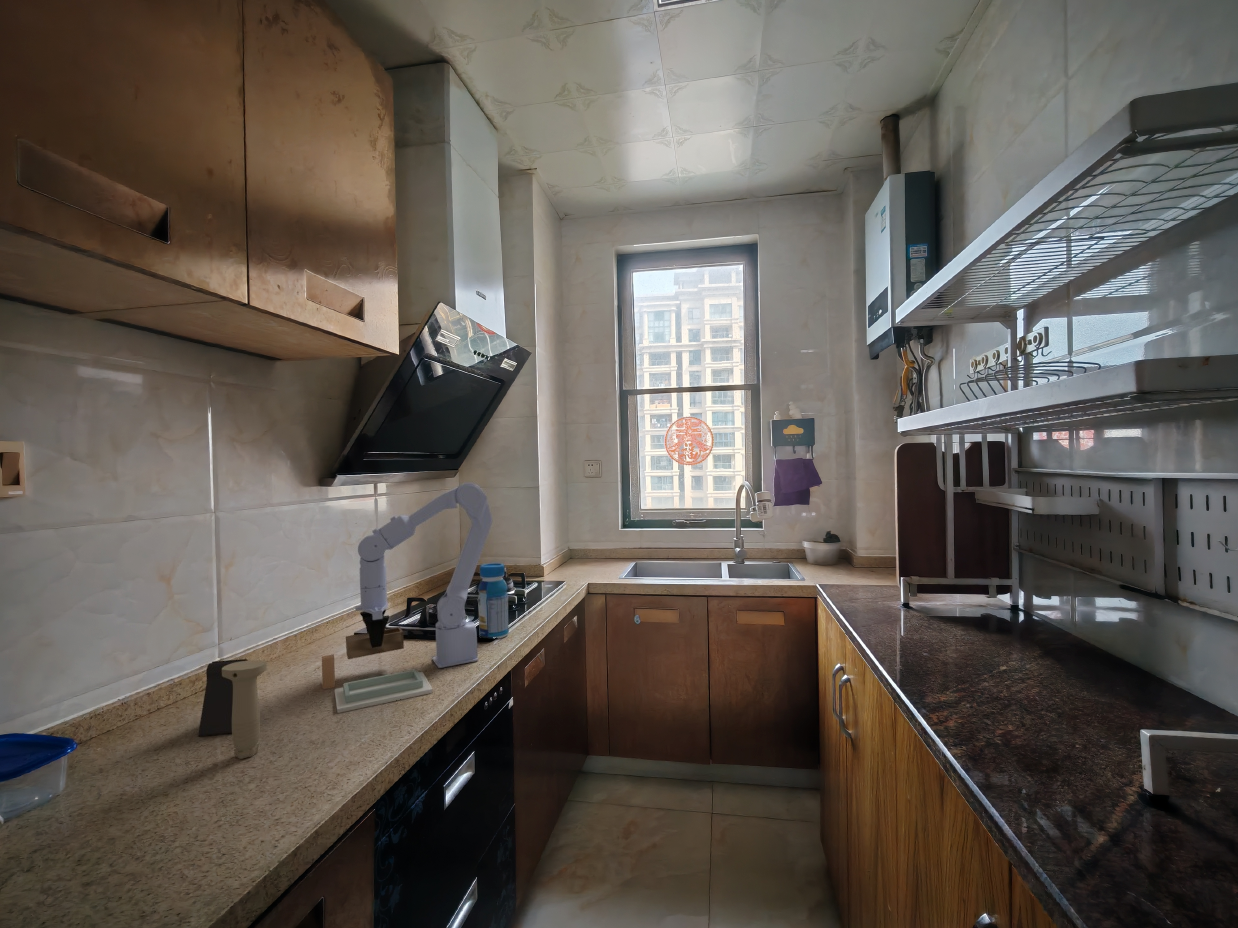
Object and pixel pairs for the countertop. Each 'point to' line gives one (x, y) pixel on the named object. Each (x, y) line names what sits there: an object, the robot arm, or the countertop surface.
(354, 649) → the tan box sleeve
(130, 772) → the countertop surface
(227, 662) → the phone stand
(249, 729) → the handle
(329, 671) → the tan square block
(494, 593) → the beverage bottle
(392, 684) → the cradle
